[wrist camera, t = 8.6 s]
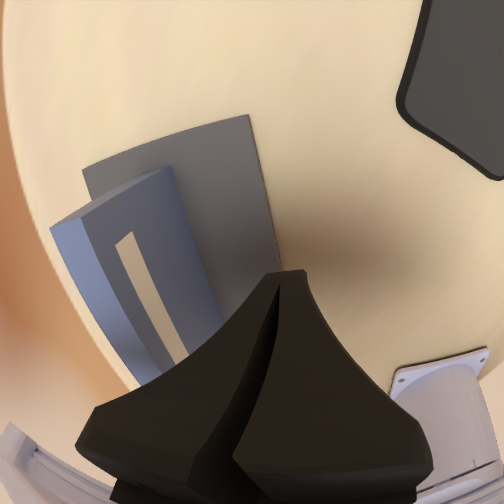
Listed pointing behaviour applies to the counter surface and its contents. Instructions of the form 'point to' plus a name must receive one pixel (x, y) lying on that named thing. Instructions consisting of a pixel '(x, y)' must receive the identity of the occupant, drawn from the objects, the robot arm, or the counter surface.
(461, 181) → the counter surface
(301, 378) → the robot arm
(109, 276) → the block
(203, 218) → the mat
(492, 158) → the smartphone
